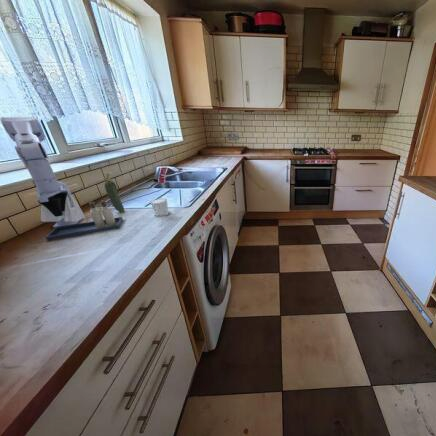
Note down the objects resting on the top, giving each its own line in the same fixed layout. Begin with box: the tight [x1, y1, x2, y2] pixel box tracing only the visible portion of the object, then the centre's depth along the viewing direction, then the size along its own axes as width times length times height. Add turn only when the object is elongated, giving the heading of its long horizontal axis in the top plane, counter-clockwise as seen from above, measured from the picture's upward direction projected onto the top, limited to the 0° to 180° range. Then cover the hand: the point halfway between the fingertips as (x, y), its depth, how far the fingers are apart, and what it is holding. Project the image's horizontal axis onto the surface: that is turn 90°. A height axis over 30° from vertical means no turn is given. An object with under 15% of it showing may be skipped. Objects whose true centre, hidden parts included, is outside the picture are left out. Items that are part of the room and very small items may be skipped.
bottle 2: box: [100, 200, 117, 226], centre depth 96 cm, size 3×3×11 cm
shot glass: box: [150, 198, 169, 217], centre depth 109 cm, size 7×7×7 cm
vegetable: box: [104, 171, 125, 213], centre depth 108 cm, size 4×4×20 cm
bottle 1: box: [89, 201, 106, 228], centre depth 95 cm, size 3×3×11 cm
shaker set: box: [40, 195, 86, 223], centre depth 86 cm, size 12×4×11 cm, turn 108°
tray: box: [45, 216, 124, 241], centre depth 95 cm, size 9×23×2 cm, turn 115°
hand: (61, 213), depth 86 cm, fingers closed on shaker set, 4 cm apart
